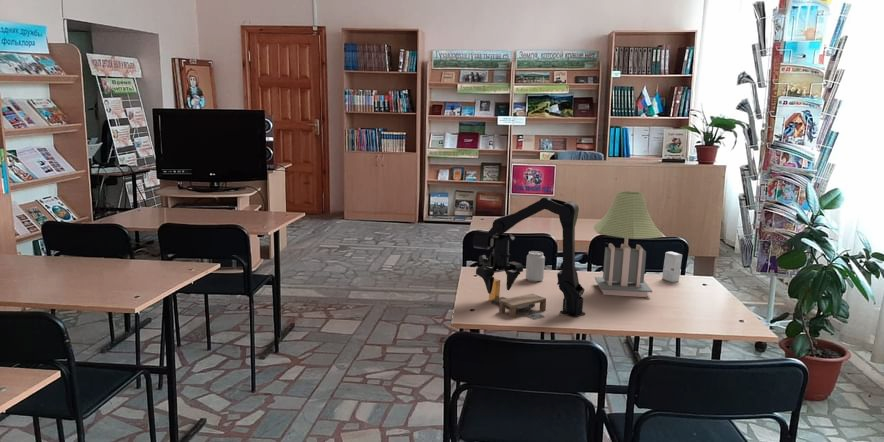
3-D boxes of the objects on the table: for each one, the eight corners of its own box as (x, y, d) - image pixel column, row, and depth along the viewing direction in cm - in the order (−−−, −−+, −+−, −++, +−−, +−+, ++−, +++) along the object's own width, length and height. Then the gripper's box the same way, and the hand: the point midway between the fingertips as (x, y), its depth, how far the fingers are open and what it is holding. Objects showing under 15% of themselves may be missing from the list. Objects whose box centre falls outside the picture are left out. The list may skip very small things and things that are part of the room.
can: (523, 280, 269) (524, 252, 267) (529, 276, 276) (530, 249, 273) (539, 283, 266) (541, 255, 263) (545, 279, 272) (547, 251, 270)
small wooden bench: (545, 310, 230) (546, 298, 229) (512, 317, 220) (513, 305, 219) (531, 305, 235) (532, 293, 234) (499, 312, 226) (499, 300, 225)
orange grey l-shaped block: (530, 308, 231) (531, 287, 230) (519, 311, 227) (521, 290, 226) (496, 298, 243) (497, 277, 241) (485, 300, 239) (486, 280, 237)
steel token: (544, 318, 223) (544, 315, 222) (534, 320, 220) (534, 318, 219) (534, 314, 226) (534, 311, 226) (524, 316, 223) (524, 314, 223)
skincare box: (661, 278, 279) (664, 251, 277) (668, 277, 281) (671, 251, 279) (672, 282, 274) (675, 254, 272) (680, 281, 276) (682, 254, 274)
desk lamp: (646, 283, 271) (655, 189, 264) (662, 303, 243) (672, 199, 236) (585, 279, 273) (592, 187, 266) (594, 299, 246) (602, 196, 239)
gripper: (505, 244, 246) (503, 283, 249) (467, 249, 236) (465, 289, 238) (525, 249, 238) (522, 290, 240) (486, 255, 227) (484, 297, 229)
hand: (498, 291), depth 237 cm, fingers open, 9 cm apart
